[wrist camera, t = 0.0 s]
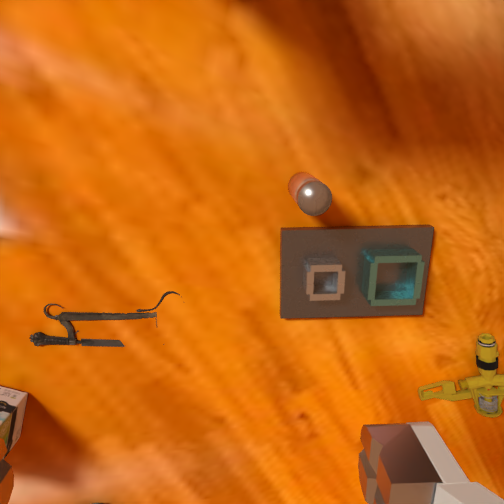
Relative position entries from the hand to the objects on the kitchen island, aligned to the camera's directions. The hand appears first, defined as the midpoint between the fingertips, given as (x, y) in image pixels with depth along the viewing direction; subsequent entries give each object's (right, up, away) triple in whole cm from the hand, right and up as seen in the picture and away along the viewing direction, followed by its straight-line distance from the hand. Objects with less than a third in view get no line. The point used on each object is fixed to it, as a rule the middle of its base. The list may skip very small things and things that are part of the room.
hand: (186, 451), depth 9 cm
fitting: (+9, +14, +46) cm, 49 cm away
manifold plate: (+17, +2, +50) cm, 53 cm away
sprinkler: (+39, -16, +57) cm, 71 cm away
